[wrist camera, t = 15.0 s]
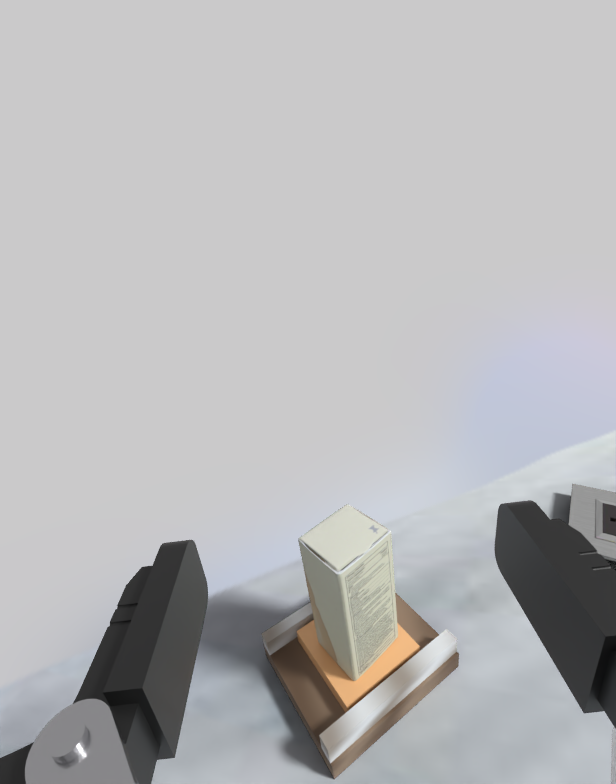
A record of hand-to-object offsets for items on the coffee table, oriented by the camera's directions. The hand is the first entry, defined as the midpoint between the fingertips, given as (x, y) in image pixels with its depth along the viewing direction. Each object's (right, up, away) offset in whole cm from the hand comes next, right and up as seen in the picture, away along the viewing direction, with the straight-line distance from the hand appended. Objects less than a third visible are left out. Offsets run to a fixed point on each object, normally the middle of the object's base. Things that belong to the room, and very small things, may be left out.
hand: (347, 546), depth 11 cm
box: (+3, -16, +21) cm, 26 cm away
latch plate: (+3, -17, +22) cm, 27 cm away
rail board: (+3, -18, +22) cm, 29 cm away
